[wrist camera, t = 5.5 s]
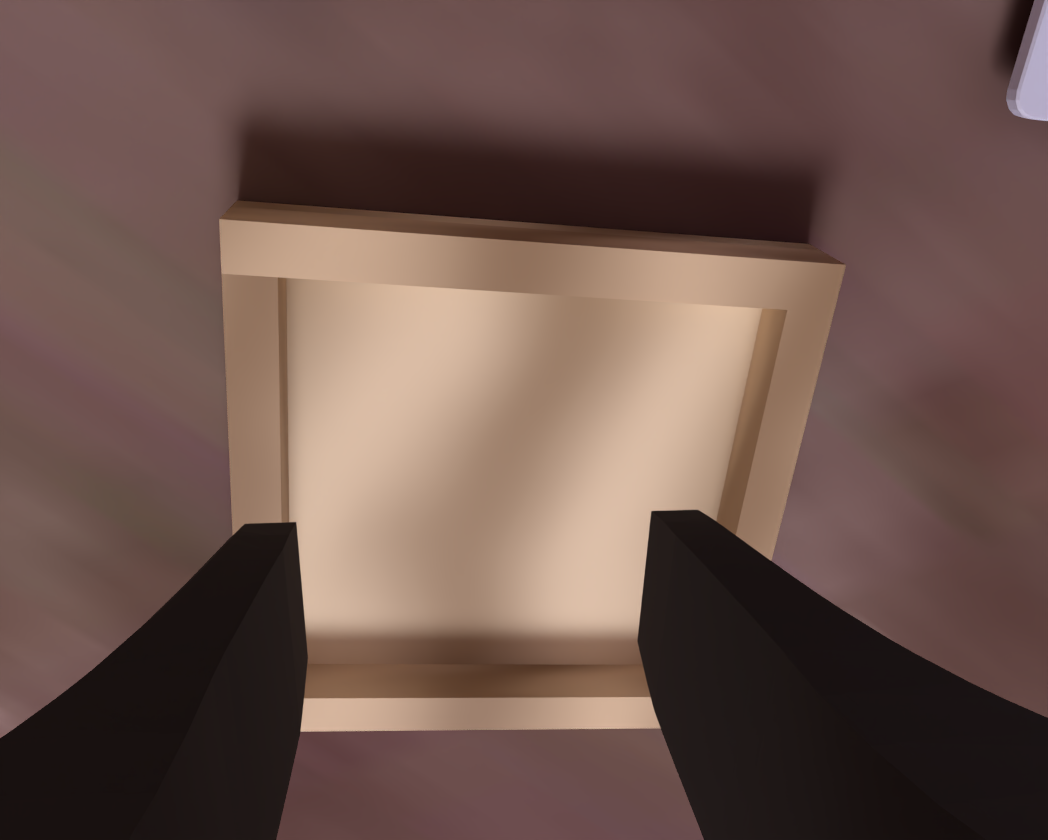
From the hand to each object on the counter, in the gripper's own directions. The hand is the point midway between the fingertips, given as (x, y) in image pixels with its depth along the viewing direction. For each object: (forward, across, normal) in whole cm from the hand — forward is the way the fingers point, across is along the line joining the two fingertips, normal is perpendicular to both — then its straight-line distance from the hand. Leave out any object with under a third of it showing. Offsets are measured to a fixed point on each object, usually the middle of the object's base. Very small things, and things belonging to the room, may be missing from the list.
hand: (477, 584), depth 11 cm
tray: (+9, -1, +3) cm, 10 cm away
